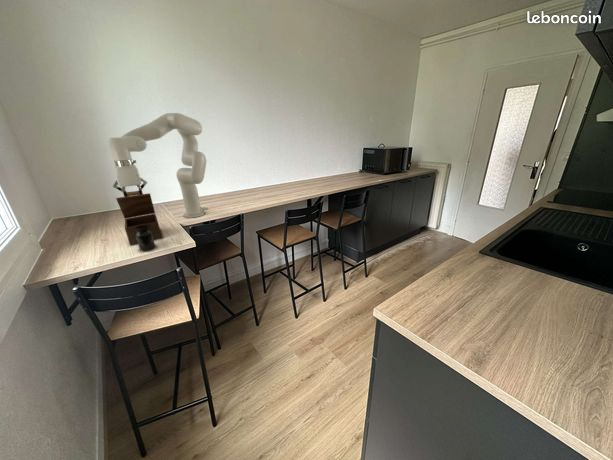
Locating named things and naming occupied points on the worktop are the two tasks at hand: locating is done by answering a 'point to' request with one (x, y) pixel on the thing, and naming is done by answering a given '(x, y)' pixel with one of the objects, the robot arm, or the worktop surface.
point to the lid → (136, 204)
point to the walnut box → (138, 221)
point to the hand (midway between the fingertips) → (134, 197)
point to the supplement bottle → (144, 238)
